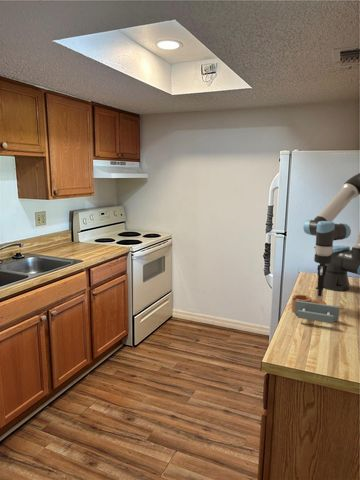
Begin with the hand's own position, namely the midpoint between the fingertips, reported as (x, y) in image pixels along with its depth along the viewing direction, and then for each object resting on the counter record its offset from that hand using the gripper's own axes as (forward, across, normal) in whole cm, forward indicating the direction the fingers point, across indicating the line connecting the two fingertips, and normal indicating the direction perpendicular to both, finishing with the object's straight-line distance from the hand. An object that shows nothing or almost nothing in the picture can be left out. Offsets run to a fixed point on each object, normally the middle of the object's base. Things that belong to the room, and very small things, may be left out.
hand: (319, 301), depth 174 cm
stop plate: (+1, +21, 0) cm, 21 cm away
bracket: (+2, +9, -4) cm, 10 cm away
